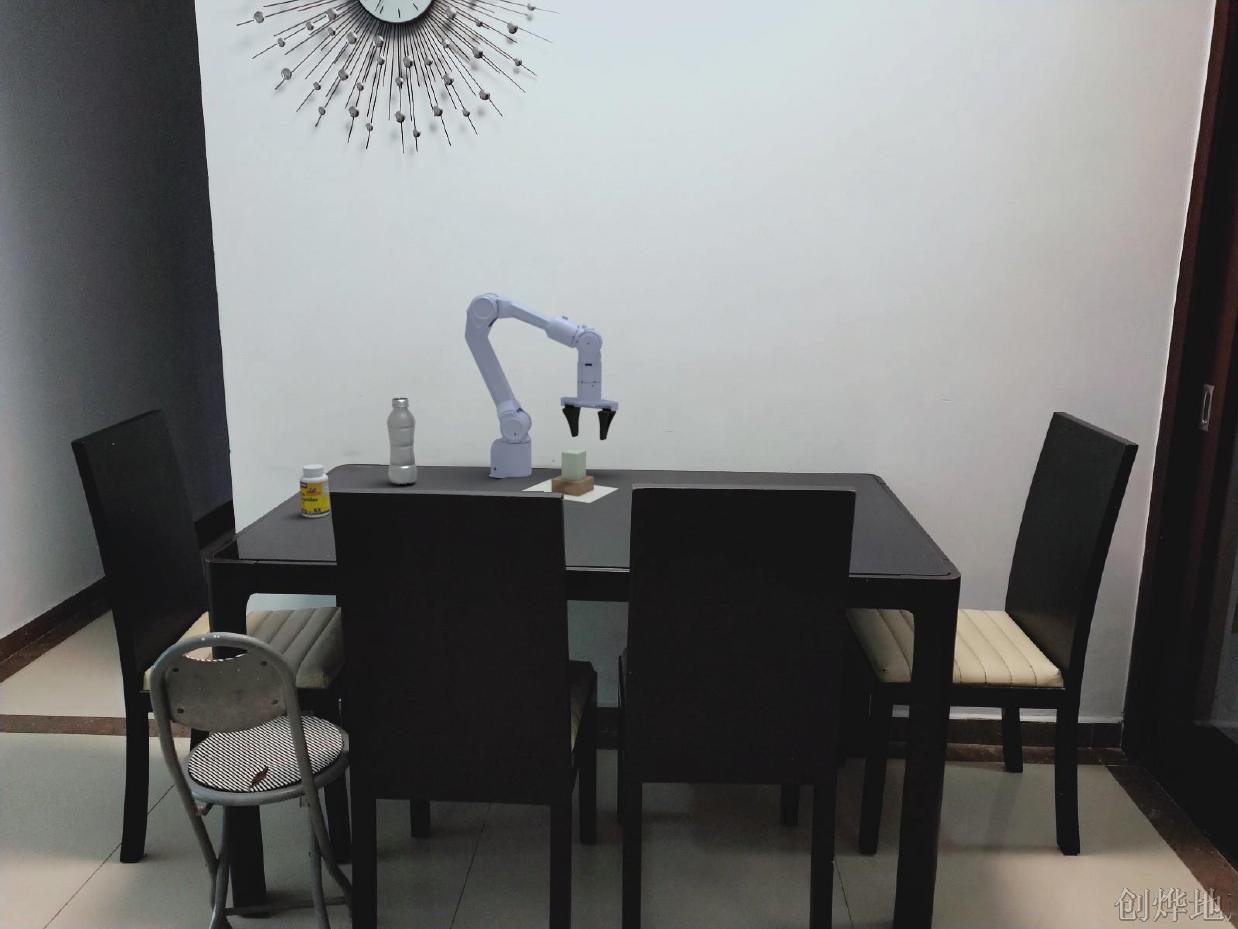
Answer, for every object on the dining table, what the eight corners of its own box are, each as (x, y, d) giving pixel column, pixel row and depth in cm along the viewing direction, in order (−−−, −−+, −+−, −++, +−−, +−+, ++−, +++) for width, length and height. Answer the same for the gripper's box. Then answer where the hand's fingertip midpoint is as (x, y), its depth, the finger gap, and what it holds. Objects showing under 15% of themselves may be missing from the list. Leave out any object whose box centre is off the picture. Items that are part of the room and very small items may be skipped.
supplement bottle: (296, 517, 192) (292, 468, 190) (312, 510, 197) (309, 462, 195) (319, 519, 190) (316, 470, 188) (335, 512, 196) (332, 464, 193)
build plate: (518, 495, 211) (518, 492, 210) (550, 482, 223) (550, 479, 223) (589, 506, 203) (589, 502, 203) (618, 491, 215) (618, 488, 215)
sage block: (561, 478, 211) (561, 452, 210) (570, 474, 215) (570, 448, 213) (577, 480, 209) (577, 454, 208) (585, 476, 213) (586, 450, 212)
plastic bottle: (382, 485, 218) (379, 399, 213) (400, 479, 224) (396, 395, 219) (406, 488, 215) (403, 401, 211) (423, 482, 222) (420, 397, 217)
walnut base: (551, 492, 211) (551, 479, 210) (566, 485, 217) (566, 473, 216) (578, 496, 208) (579, 483, 207) (593, 489, 214) (593, 476, 213)
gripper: (554, 381, 222) (554, 437, 225) (609, 385, 215) (608, 444, 218) (568, 377, 228) (568, 432, 231) (622, 382, 221) (621, 438, 225)
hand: (588, 438), depth 225 cm, fingers open, 7 cm apart
